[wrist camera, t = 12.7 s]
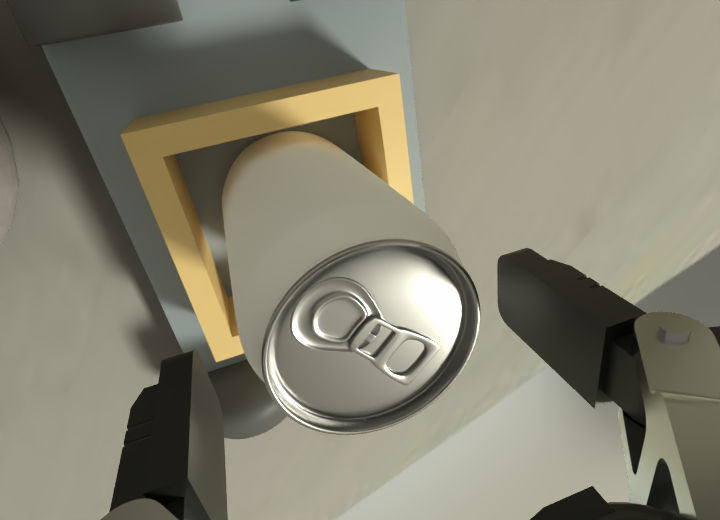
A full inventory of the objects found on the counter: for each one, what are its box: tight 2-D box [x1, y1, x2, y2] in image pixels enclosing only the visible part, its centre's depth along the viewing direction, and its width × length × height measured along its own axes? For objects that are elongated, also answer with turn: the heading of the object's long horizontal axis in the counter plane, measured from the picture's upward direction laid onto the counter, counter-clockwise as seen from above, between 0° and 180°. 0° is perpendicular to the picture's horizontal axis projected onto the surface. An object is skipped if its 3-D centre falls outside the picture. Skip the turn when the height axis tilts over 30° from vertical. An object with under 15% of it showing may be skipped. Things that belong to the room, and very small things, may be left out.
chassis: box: [7, 0, 426, 439], centre depth 20 cm, size 14×20×5 cm
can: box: [222, 131, 480, 435], centre depth 16 cm, size 6×6×12 cm
